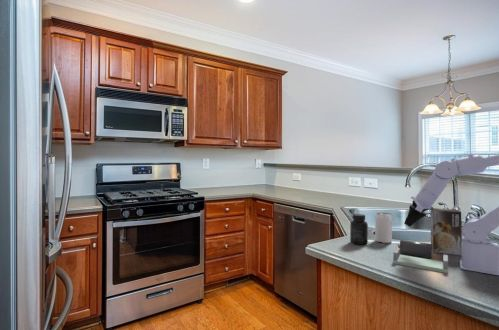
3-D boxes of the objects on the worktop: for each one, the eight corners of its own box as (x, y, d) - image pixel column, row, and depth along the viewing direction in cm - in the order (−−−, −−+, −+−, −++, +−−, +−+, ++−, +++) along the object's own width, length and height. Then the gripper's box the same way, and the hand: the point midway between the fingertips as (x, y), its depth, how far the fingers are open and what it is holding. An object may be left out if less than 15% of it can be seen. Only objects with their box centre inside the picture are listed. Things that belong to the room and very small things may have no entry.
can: (372, 241, 123) (372, 213, 123) (378, 238, 128) (378, 211, 128) (388, 244, 119) (388, 215, 119) (394, 241, 123) (394, 213, 123)
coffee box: (458, 251, 110) (458, 209, 110) (462, 256, 104) (462, 212, 104) (430, 247, 114) (430, 207, 114) (432, 252, 108) (432, 210, 108)
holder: (447, 265, 95) (447, 254, 95) (447, 273, 88) (447, 261, 88) (396, 256, 103) (396, 247, 103) (393, 263, 97) (393, 253, 97)
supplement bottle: (354, 240, 125) (354, 212, 125) (370, 243, 120) (370, 214, 120) (347, 243, 120) (347, 214, 120) (363, 246, 116) (363, 217, 115)
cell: (432, 256, 105) (432, 242, 104) (431, 260, 100) (431, 246, 100) (398, 251, 111) (399, 238, 111) (397, 254, 106) (397, 241, 106)
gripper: (420, 182, 109) (400, 211, 113) (416, 189, 97) (394, 220, 102) (440, 193, 105) (418, 222, 110) (438, 200, 93) (414, 233, 98)
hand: (408, 222), depth 106 cm, fingers open, 7 cm apart
